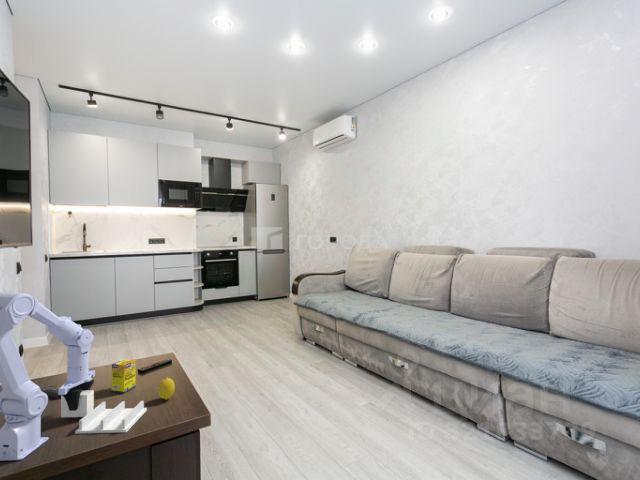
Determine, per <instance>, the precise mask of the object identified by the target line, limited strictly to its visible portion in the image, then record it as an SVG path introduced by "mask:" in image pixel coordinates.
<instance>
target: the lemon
mask: <svg viewBox="0 0 640 480" xmlns="http://www.w3.org/2000/svg"><path fill="white" fill-rule="evenodd" d="M158 384H159V385H158V387H157V392H158V393H157V394H158V396H159V397H160V398H161V399H163V400H165V401H167V400H168V399H169V398H171V397H172V396H173V394H175V389H176V388H175V387H176V386H175V385H176V384H175V382H174V380H173V379H172V378H170V377H165V378H163V379H161V381H160V382H159V383H158Z"/></svg>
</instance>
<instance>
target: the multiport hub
mask: <svg viewBox="0 0 640 480" xmlns="http://www.w3.org/2000/svg"><path fill="white" fill-rule="evenodd" d="M60 387H61V386H56V385H49V386H45V387H43V388H40V389H41V391H42V392H44V393H45V394H46V395H47V396H48V399H49V398H50V399H54V400H61V395H58V393H59V388H60Z"/></svg>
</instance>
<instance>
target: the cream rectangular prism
mask: <svg viewBox="0 0 640 480" xmlns="http://www.w3.org/2000/svg"><path fill="white" fill-rule="evenodd" d="M94 400H95V390H94V389H90V390H82V391H81V394H80V397H79V404H78V409H77V410H76V411H69V408H68V404H67V402H66V400H65V398H64V397H63V396H62V395H61V399H60V406H61V407H60V418H83V417H85V416H86V415H87V414H88V413H90V412H91V411H92V410H93V409H95V408H94V405H95V403H94V402H95V401H94Z"/></svg>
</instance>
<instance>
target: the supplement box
mask: <svg viewBox="0 0 640 480" xmlns="http://www.w3.org/2000/svg"><path fill="white" fill-rule="evenodd" d="M136 362H137V360H136V359H128V358H123V359H120V360H118V361H116V362H113V363H111V383H110V385H111V387H110V389H111V391H110V392H111V393H114V394H115V393H116V394H126V393H127V392H129V391H131V390H132V389H135V388H136V376H137V374H136V372H137V371H136V368H137V367H136V365H137V364H136Z"/></svg>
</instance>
